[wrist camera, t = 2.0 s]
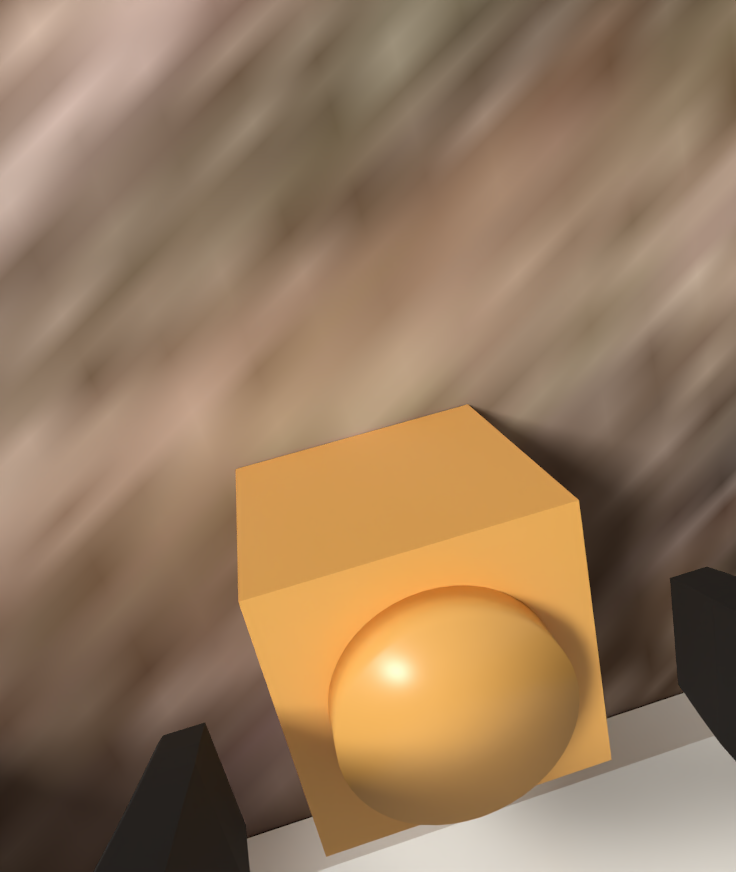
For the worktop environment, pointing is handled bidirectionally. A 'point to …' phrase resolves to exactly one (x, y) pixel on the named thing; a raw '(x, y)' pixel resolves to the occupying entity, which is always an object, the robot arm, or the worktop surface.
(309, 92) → the worktop surface
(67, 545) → the worktop surface
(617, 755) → the plate
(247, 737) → the worktop surface
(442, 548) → the orange cube with dome
